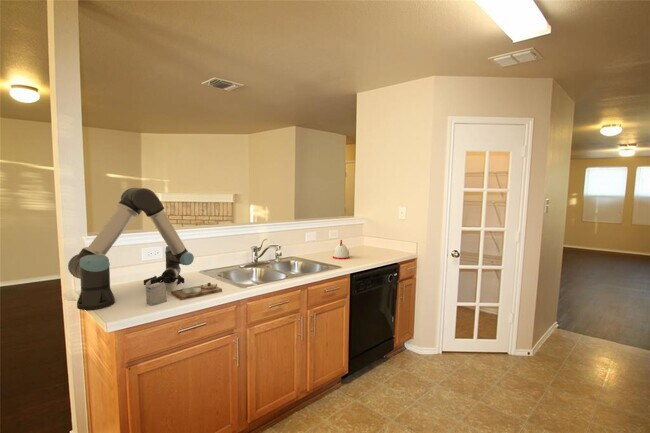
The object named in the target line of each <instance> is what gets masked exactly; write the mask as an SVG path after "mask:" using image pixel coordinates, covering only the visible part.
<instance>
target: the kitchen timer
mask: <svg viewBox="0 0 650 433" xmlns="http://www.w3.org/2000/svg"><path fill="white" fill-rule="evenodd" d="M332 259H334V260H339V261H340V260H341V261H342V260H343V261H344V260H348V259H350V251H349V249H348V248H347V246H346V245H345V244H343V239H340V242H339V243H338V244H337V245H336V246H335V248H333V251H332Z"/></svg>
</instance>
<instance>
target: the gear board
mask: <svg viewBox="0 0 650 433" xmlns="http://www.w3.org/2000/svg"><path fill="white" fill-rule="evenodd" d="M222 292H223V288H222V287H219V286H218V284H217V283H215V284H214V283H211V282H207V284H200V285H197V286H195V285H194V286H192V287H186V288H181V289H175V290H171V291H170V294H171V295H172V296H174V297H176V298H178V299H180V301H183V300H189V299H193V298H198V297H202V296H207V295H211V294H216V293H222Z"/></svg>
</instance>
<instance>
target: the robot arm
mask: <svg viewBox="0 0 650 433" xmlns="http://www.w3.org/2000/svg"><path fill="white" fill-rule="evenodd" d="M117 207H118V208H117V210H116V211H115V212H114V214H112V216H111V217H110V218H109V220H108V221H107V222H106V224H105V225H104V226H103V228H101V230H100V231H99V232H98V234H97V235H96V237H94V239H93V240H92V242H91V243H89V246H86V247H83V248H82V249H81V250H80V252H79V253H78V254H75V255H74V256H72V257H71V258H70V259H69V261H68V263H67V268H68V269H67V270H68V272H69V273H70V274H71V276H73V277H74V278H76V279H79V280H80V293H79V296H78V300H77V302H76V308H77V309H78V310H80V311H93V310H94V311H95V310H100V309H104V308H108V307H111V306H113V305H114V304H115V303H116V298H115V295H114V293H113V291H112V288H111V278H110V276H111V275H110V274H111V271H110V265H111V264H110V263H111V262H110V259H109V257H108V256H107V254H108V252H109V251H110V249H111V248H113V246H114V244H115V243H116V241H117V240H118V239H119V237H120V236H121V234H122V233H123V232H124V231H125V229H126V228H127V227H128V226H129V224H130V223H131V222H132V220H133V219H134V218H135V217H136V218H137V217H139V216H140V215H141V213H142V212H143V213H144V214H145V216H146V217H147V218H150V219H151V221H152V223H153V224H154V226H155V227H156V230H157V231H158V232H159V235H160V236H161V237H162V239H163V240H164V241H165V243H166V245H167V246H166V247H165V251H164V253H165V270H164V271H163V272H162V273H161V274H160V275H159V276H157V275H154V276H153V277H150V278H147V279H144V280H143V285H144V286H145V288H146V287H148V286H152V285H156V284H172V283H173V284H174V288H177V287H178V285H180V284H185V278H184V277H183V276H181V275H180V274H181V271H182V270H181V267H180V265H182V266H190V265H192V263H193V262H194V260H195V255H194V254H193V253H191V252H190V251H189V250H188V249H187V247H186V246H185V244H184V242H183V241H182V239H181V237H180V236H179V235H178V234H179V233H177V230H175V228H174V226H173V224H172V222H171V221H170V219H169V217H168V215H167V214H166V212H165V206H164V205H163V203H162V201H161V199H159V197H158V196H157V195H156V193H155V192H154V191H153V190H151V189H149V188H147V187H131V188H127V189H125V190H124V191H123V192H122V194H121V196H120V200H119V202H117Z"/></svg>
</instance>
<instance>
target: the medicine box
mask: <svg viewBox="0 0 650 433" xmlns="http://www.w3.org/2000/svg"><path fill="white" fill-rule="evenodd" d="M145 294H146V295H145V296H146V297H145V298H146V305H148V306H150V307H151V306H156V305H159V304H162V303H166V302H167V285H166V283H155V284H151V286H148V287H146V286H145Z"/></svg>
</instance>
